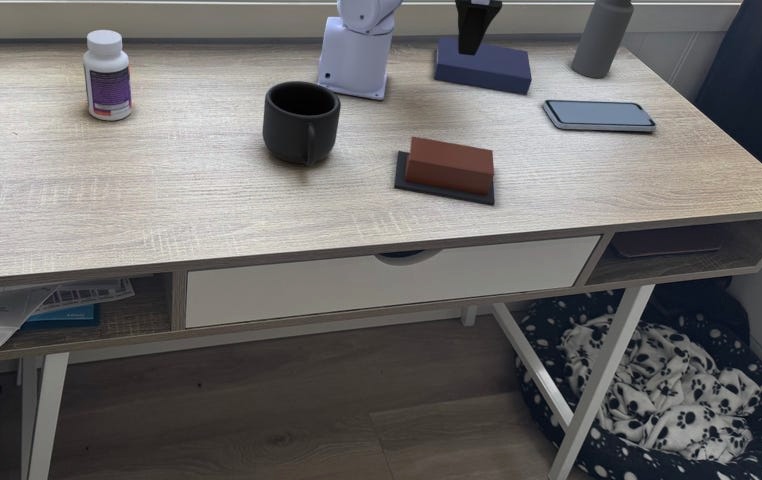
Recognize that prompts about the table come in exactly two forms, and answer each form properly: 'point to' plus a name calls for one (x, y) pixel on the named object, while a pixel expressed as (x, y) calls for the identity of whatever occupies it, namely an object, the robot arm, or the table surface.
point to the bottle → (602, 37)
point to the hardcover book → (483, 67)
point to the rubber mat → (436, 190)
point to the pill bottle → (107, 76)
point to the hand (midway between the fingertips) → (466, 41)
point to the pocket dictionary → (450, 165)
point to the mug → (300, 121)
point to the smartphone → (599, 115)
